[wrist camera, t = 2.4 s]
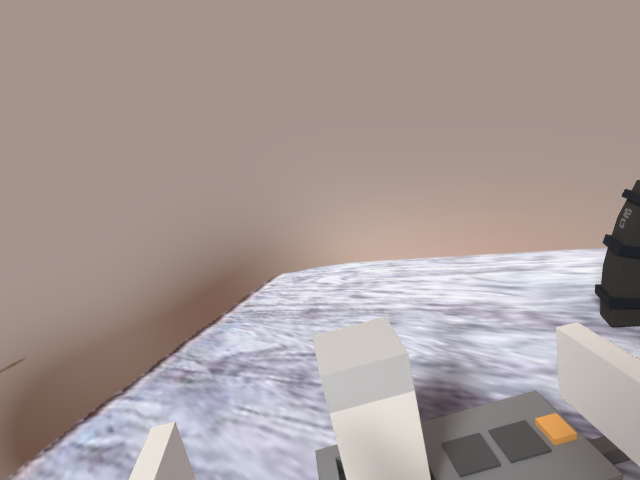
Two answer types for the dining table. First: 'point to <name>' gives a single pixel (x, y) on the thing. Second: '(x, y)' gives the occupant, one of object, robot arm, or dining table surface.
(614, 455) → the power strip
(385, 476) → the block
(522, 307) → the dining table surface
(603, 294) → the magazine
